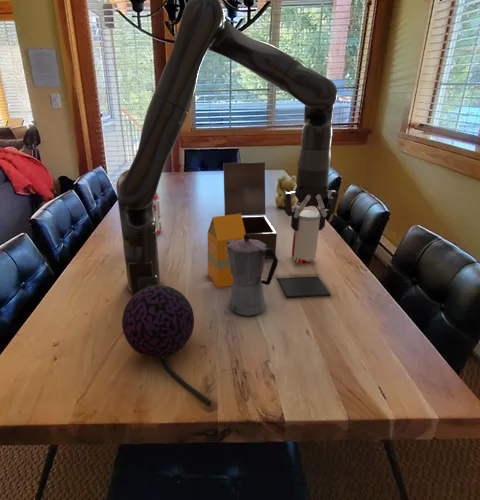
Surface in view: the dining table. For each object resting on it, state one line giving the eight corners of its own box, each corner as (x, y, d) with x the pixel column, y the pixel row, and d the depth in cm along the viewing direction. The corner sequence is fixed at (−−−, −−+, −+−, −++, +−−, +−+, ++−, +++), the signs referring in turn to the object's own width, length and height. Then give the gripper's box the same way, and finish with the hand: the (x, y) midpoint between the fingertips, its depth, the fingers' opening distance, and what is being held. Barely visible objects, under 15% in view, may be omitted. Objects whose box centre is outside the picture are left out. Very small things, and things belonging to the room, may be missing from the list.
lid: (265, 162, 131) (264, 162, 132) (223, 163, 130) (223, 163, 131) (265, 214, 134) (264, 214, 134) (224, 216, 133) (224, 215, 134)
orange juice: (207, 276, 113) (206, 213, 105) (234, 271, 116) (235, 209, 108) (217, 288, 106) (217, 221, 98) (245, 282, 109) (247, 217, 101)
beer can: (158, 236, 144) (156, 196, 137) (143, 235, 145) (139, 195, 138) (163, 231, 149) (161, 192, 143) (148, 230, 150) (145, 191, 144)
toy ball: (114, 369, 76) (105, 306, 70) (139, 326, 89) (134, 270, 83) (186, 378, 73) (183, 313, 67) (201, 332, 87) (199, 275, 81)
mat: (330, 295, 101) (330, 293, 101) (286, 297, 101) (287, 296, 100) (315, 275, 112) (315, 273, 112) (276, 277, 112) (276, 275, 111)
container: (319, 259, 100) (324, 216, 95) (297, 260, 100) (301, 217, 95) (311, 250, 106) (316, 209, 101) (291, 251, 105) (294, 210, 100)
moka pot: (235, 291, 104) (236, 223, 96) (284, 310, 95) (290, 237, 87) (214, 305, 97) (213, 234, 90) (265, 327, 88) (269, 250, 80)
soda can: (297, 267, 117) (301, 231, 113) (287, 258, 124) (290, 224, 119) (317, 264, 119) (321, 229, 114) (306, 255, 125) (309, 222, 121)
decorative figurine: (294, 205, 179) (297, 173, 173) (296, 210, 172) (299, 177, 166) (274, 204, 180) (276, 173, 174) (275, 209, 173) (277, 177, 167)
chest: (275, 261, 122) (276, 233, 118) (230, 263, 121) (231, 234, 117) (263, 241, 138) (265, 215, 134) (224, 242, 137) (224, 217, 133)
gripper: (289, 170, 89) (284, 235, 96) (348, 168, 90) (339, 233, 97) (281, 164, 96) (277, 226, 103) (336, 162, 97) (328, 224, 103)
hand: (307, 229), depth 100 cm, fingers closed on container, 6 cm apart
